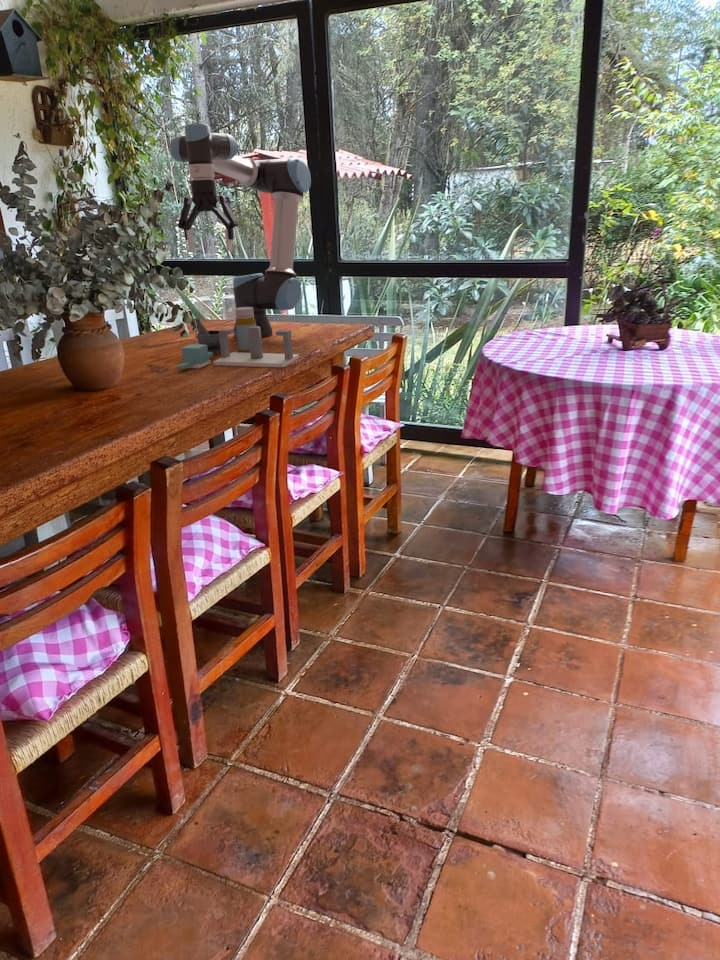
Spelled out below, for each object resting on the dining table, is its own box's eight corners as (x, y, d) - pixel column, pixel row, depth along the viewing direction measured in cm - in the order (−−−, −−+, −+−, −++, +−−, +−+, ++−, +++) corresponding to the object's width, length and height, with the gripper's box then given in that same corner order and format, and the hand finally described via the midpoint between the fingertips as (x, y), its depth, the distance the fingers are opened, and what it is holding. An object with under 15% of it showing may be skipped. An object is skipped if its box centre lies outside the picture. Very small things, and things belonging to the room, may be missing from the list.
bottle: (254, 353, 242) (250, 309, 236) (235, 353, 243) (231, 309, 238) (261, 349, 248) (257, 306, 242) (242, 349, 250) (238, 306, 244)
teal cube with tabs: (173, 368, 220) (170, 352, 218) (202, 355, 237) (200, 340, 235) (190, 369, 218) (187, 352, 216) (218, 356, 235) (216, 340, 233)
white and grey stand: (233, 355, 240) (229, 322, 235) (299, 357, 233) (297, 324, 229) (214, 365, 227) (210, 330, 223) (283, 367, 221) (280, 332, 216)
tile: (194, 362, 232) (194, 359, 232) (210, 362, 231) (210, 359, 230) (182, 367, 225) (182, 364, 225) (198, 368, 224) (198, 365, 223)
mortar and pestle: (231, 349, 250) (227, 315, 245) (221, 355, 241) (217, 320, 237) (201, 349, 252) (197, 315, 247) (191, 355, 244) (186, 320, 239)
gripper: (161, 181, 217) (170, 252, 225) (233, 177, 210) (240, 251, 218) (173, 181, 224) (182, 250, 232) (244, 177, 217) (250, 249, 225)
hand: (210, 251), depth 225 cm, fingers open, 13 cm apart
